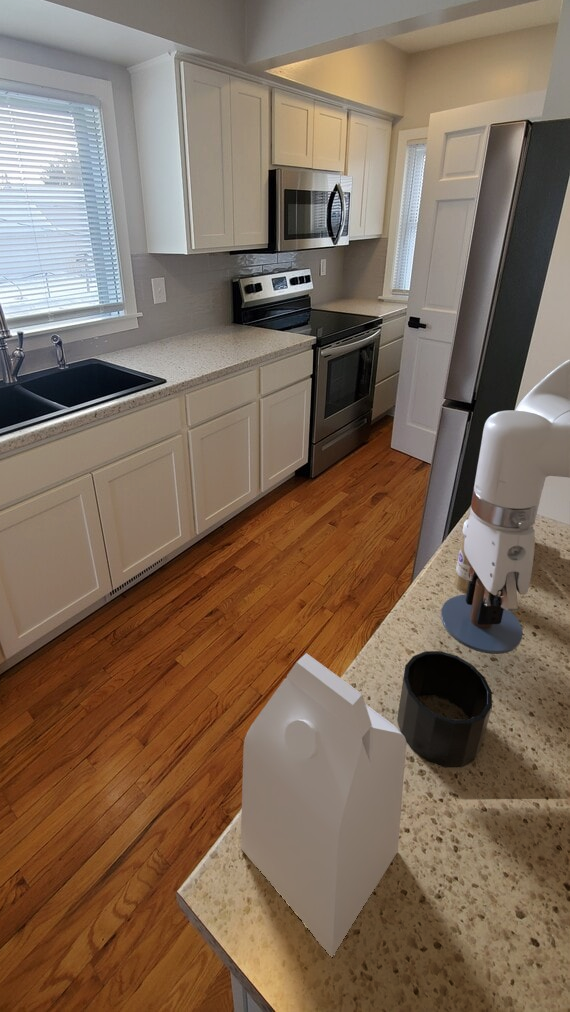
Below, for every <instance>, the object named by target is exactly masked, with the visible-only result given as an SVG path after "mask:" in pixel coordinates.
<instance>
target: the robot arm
mask: <svg viewBox="0 0 570 1012" xmlns="http://www.w3.org/2000/svg"><path fill="white" fill-rule="evenodd" d="M482 430H483V431H482V437H481V443H480V449H479V455H478V461H477V466H476V474H475V479H474V486H473V491H472V496H471V504H470V507H469V510H470V513H469V517H468V519H469V520H468V519H467V520H468V524H467V529H466V534H465V540H464V552H465V555H466V557H467V559H468V560H469V563H470V569H469V573H468V576H469V579H470V580H472V581H469V584H468V589H467V594H465V595H466V602H467V604H468V605H472V602H473V596H474V591H475V586H476V580H477V579H478V578H480V580H481V582H482V583H483V585H484V586H485V591H484V599H483V600H480V604H479V609H478V614H477V619H476V621H477V623H478V624H479V625H486V624H500V623H501V620H502V615H503V611H504V610H506V611H511V612H517V611H518V610H519V605H518V594H519V595H520V596H521V595H523V596H525V595H527V594H528V592H529V588H530V583H531V578H532V573H533V567H534V560H535V559H534V558H535V549H536V548H535V547H536V545H535V543H536V537H535V535H536V534H535V529H534V525H535V523H536V519H537V515H538V510H539V505H540V501H541V497H542V493H543V489H544V486H543V485H545V482H544V480H545V481H546V478H547V477H557V478H569V479H570V359H567V360H566V361H564V362H563V363H561V364H560V365H558V366H557V367H555V368H554V369H553V370H552V371H551V372H549V373H548V374H547V375H546V376H545V377H544V378H542V379H541V381H539V382H538V383H537V384H536V385H535V386H534V387H533V388H532V389H530V391H529V392H528V393H526V395H524V397H523V398H522V399H521V401H520V402H519V403H518V405H517V406H516V408H515V410H513V409H512V410H500V411H497V412H495V413H493V414H491V415H490V416H489V417H488V418H487V419H486V420H485V422H484V426H483V429H482ZM498 592H499V593H500V594H498ZM497 594H498V596H495V597H492V595H497Z"/></svg>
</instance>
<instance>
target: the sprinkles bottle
mask: <svg viewBox="0 0 570 1012" xmlns="http://www.w3.org/2000/svg"><path fill="white" fill-rule="evenodd" d="M468 520H469V518H468V519H466V520H465V521H464V523H463V526H462V538H461V545H460V548H459V553H458V557H457V562H456V566H455V567H456V568H455V574H454V578H453V581H452V584H453V586H454V588H455V589H456V590H458V591H459V592H460V593H462V594H465V595H467V589H468V584H469V581H472V580H470V579H469V576H468V573H469V569H470V563H469V560H468V559H467V557H466V555H465V552H464V540H465V534H466V529H467V524H468Z"/></svg>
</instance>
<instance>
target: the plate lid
mask: <svg viewBox="0 0 570 1012" xmlns="http://www.w3.org/2000/svg"><path fill="white" fill-rule="evenodd" d="M484 591H485V586H484V585H483V583H482V582H481V580H480V578H478V579H477V580H476V586H475V591H474V596H473V602H472V605H468V604H467V602H466V595H467V594H458V595H455V596H453V597H450V598H448V599H447V600H446V601H445V602H444V603H443V605H442V607H441V611H440V620H441V624H442V626H443V627H444V629H445V631H446V632H447V633H448V634H449V635H450V636H451V637H452V638H453V639H454V640H455V641H456V642H458V643H459V644H461V645H462V646H464V647H466V648H468V649H470V650H472V651H475V652H479V653H483V654H489V655H503V654H507V653H510V652H512V651H514V650H515V649H517V648H518V647H519V646H520V644H521V642H522V640H523V635H524V634H523V627H522V624H521V622H520V621H519V619H518V618H517V616H516V615H515V614H514V613H513V611H506V610H504V611H503V615H502V620H501V623H500V624H486V625H479V624H478V623H477V621H476V619H477V614H478V609H479V604H480V600H483V599H484ZM499 593H500V592H498V594H497V595H492V597H495V596H499V595H500V594H499Z"/></svg>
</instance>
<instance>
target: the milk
mask: <svg viewBox="0 0 570 1012" xmlns="http://www.w3.org/2000/svg"><path fill="white" fill-rule="evenodd" d="M406 753H407V742H406V739H405V737H404V735H403V734H402V733H401V732H400V729H398V727H396V726H395V724H394V723H392V722H391V721H389V720H388V719H387V718H385V717H384V716H382V715H381V714H380V713H378V712H377V711H376V710H375V709H373V708H372V707H370V706H369V705H368V704H366V702H365V699H364V695H363V693H362V692H360V691H359V690H357V688H355V687H354V686H352V685H351V684H349V683H348V682H347V681H346V680H344V679H342V678H341V677H340V676H339V675H337V674H336V673H334V672H333V671H332V670H330V669H329V668H327V667H326V666H325V665H323V664H322V663H321V662H319V660H316V659H315V658H314V657H313V656H311V655H310V654H308V653H307V652H305V654H304V655H302V656H301V657H300V658H299V659H298V660H297V661H296V662H294V665H293V666H292V668H291V669H290V671H289V672H288V673H287V675H286V678H284V679H283V680H282V682H281V683H280V684H279V685H278V687H277V689H276V690H275V691H274V693H273V694H272V696H271V697H270V698H269V699H268V701H267V703H266V704H265V705H264V707H262V709H261V711H260V712H259V713H258V714H257V716H256V718H255V719H254V721H253V722H252V723H251V725H250V727H249V728H248V730H247V732H246V734H245V737H244V740H243V755H242V787H241V815H240V818H241V819H240V846H239V847H240V849H241V851H242V852H243V853H244V854H245V855H246V857H247V858H248V859H249V860H250V862H251V863H252V864H253V865H254V867H255V868H256V867H257V868H258V869H259V870H258V869H257V868H256V869H257V870H258V872H260V871H261V872H260V874H261V873H262V874H263V875H264V876H265V877H266V878H267V879H268V880H269V881H270V882H271V884H272V885H273V886H274V887H275V888H276V889H277V891H278V892H279V893H280V894H281V896H283V898H284V899H285V901H287V903H288V904H289V905H290V906H291V908H292V909H293V910H294V911H295V912H296V913H297V914H298V916H299V917H300V918H301V920H302V921H303V923H305V925H306V926H307V927H308V929H309V930H310V931H311V933H312V934H313V936H314V937H315V938H316V939H315V938H314V937H313V936H312V937H313V938H314V939H315V941H316V942H317V941H318V942H319V943H318V942H317V943H318V944H319V945H320V944H321V945H320V947H321V946H322V947H323V948H324V949H325V950H326V951H325V950H324V949H323V948H322V947H321V948H322V949H323V950H324V951H325V953H326V952H328V954H330V956H331V957H333V955H334V954H335V952H336V951H337V952H338V950H339V949H338V947H339V946H340V944H341V943H342V944H343V942H344V941H343V939H344V938H345V939H346V937H347V936H348V934H349V932H350V931H349V929H350V928H351V926H352V924H353V923H354V921H355V920H356V921H357V919H358V918H357V916H358V914H359V913H360V911H361V909H362V908H363V906H364V905H365V903H366V902H367V903H368V901H369V900H368V898H369V897H370V898H371V896H372V895H371V894H373V893H374V892H375V890H376V888H377V887H378V885H379V883H380V882H381V880H382V879H383V877H384V875H385V874H386V872H387V871H388V869H389V867H390V865H391V864H392V862H393V860H394V859H395V857H396V855H397V854H398V852H399V842H400V841H399V840H400V831H401V830H400V828H401V818H402V817H401V816H402V815H401V814H402V804H403V803H402V802H403V793H404V792H403V791H404V779H405V777H404V776H405V764H406ZM262 874H261V875H262ZM263 875H262V876H263ZM264 876H263V877H264ZM265 877H264V878H265ZM266 878H265V879H266ZM376 886H377V887H376ZM374 889H375V890H374ZM372 892H373V893H372ZM370 895H371V896H370ZM370 898H369V899H370ZM367 900H368V901H367ZM367 903H366V904H367ZM365 906H366V905H365ZM365 906H364V907H365ZM363 909H364V908H363ZM363 909H362V910H363ZM361 912H362V911H361ZM360 914H361V913H360ZM360 914H359V915H360ZM358 917H359V916H358ZM356 918H357V919H356ZM356 921H355V922H356ZM303 923H302V924H303ZM354 924H355V923H354ZM354 924H353V925H354ZM352 927H353V926H352ZM351 929H352V928H351ZM351 929H350V930H351ZM348 931H349V932H348ZM311 933H310V934H311ZM347 933H348V934H347ZM312 934H311V935H312ZM346 935H347V936H346ZM345 936H346V937H345ZM345 939H344V940H345ZM342 941H343V942H342ZM342 944H341V945H342ZM340 947H341V946H340ZM340 947H339V948H340ZM337 949H338V950H337ZM337 952H336V953H337ZM328 954H327V955H328ZM335 955H336V954H335ZM335 955H334V956H335ZM330 956H329V957H330ZM331 957H330V958H331ZM333 958H334V957H333Z"/></svg>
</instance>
